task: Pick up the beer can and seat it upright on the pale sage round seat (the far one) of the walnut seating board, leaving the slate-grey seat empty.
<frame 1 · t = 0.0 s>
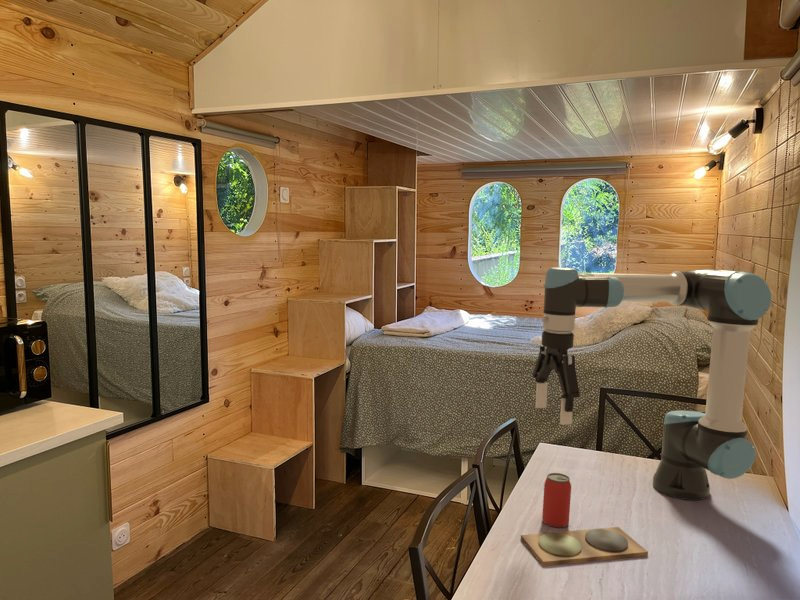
hand: (552, 415, 152), 28 cm above the table, fingers open, 13 cm apart
beer can: (555, 523, 155), on the table
seat board: (582, 547, 143), on the table
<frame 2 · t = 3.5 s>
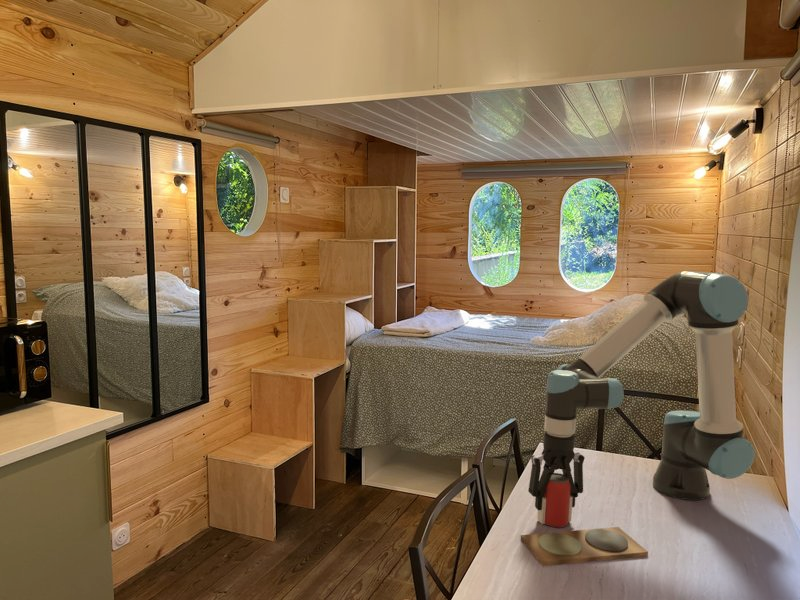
hand: (554, 520, 156), 0 cm above the table, fingers closed on beer can, 7 cm apart
beer can: (554, 523, 155), on the table, touching gripper
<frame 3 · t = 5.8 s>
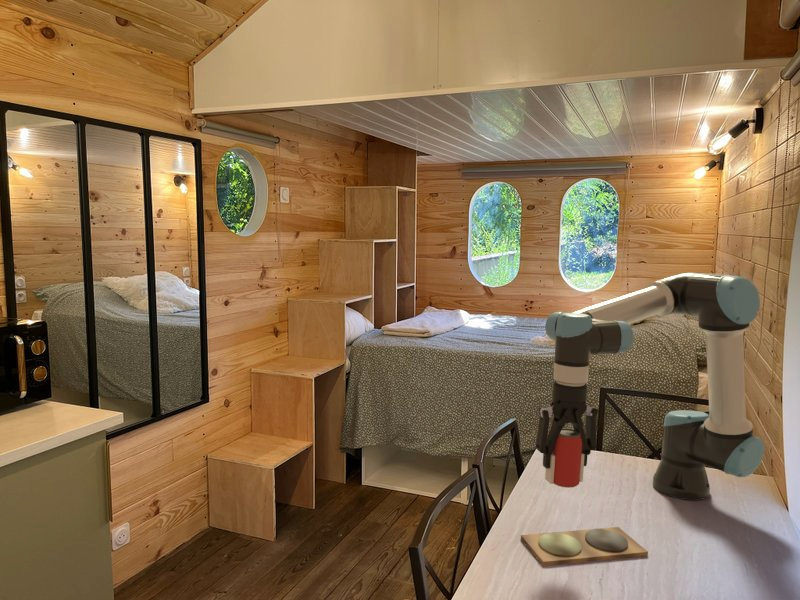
hand: (563, 480, 140), 17 cm above the table, fingers closed on beer can, 6 cm apart
beer can: (564, 483, 140), point 16 cm above the table, touching gripper
when the fingers open (3 cm above the table, at t = 8.6 s): beer can drops 1 cm, resting on seat board.
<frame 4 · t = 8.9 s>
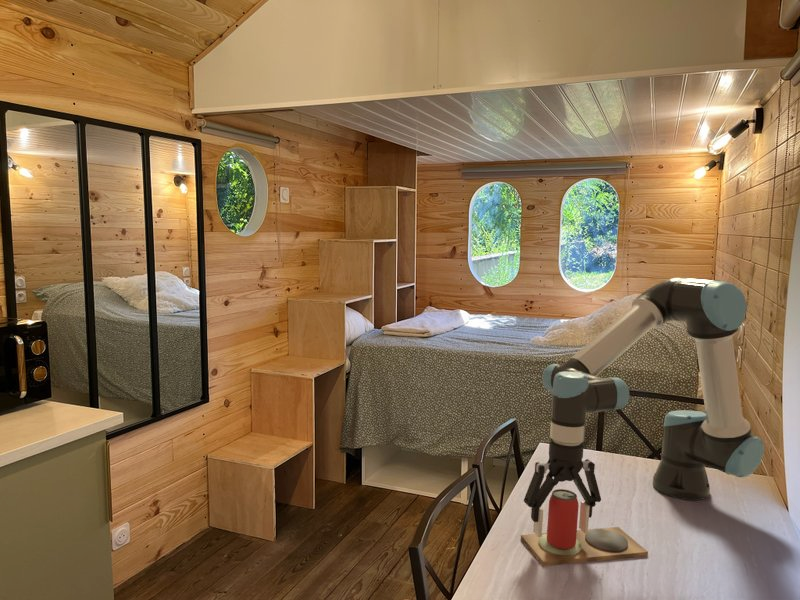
hand: (560, 532, 142), 4 cm above the table, fingers open, 11 cm apart
beer can: (560, 544, 142), point 1 cm above the table, touching seat board
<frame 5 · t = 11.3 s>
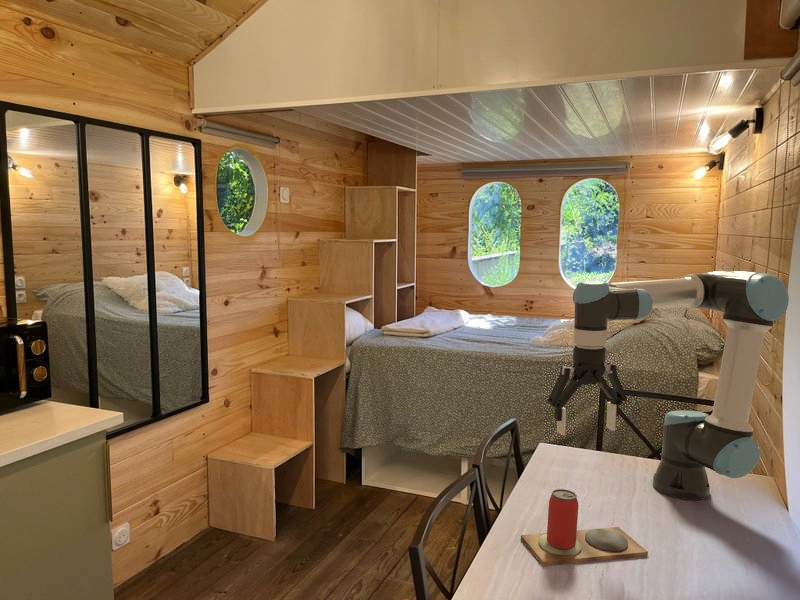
hand: (586, 431, 150), 25 cm above the table, fingers open, 13 cm apart
nothing on the table moved.
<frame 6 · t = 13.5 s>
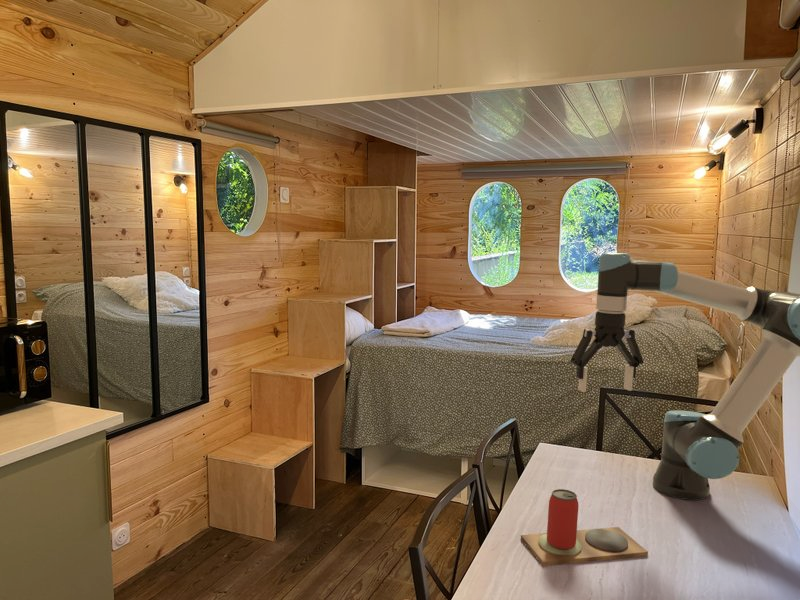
hand: (605, 390, 164), 32 cm above the table, fingers open, 13 cm apart
nothing on the table moved.
at the end: beer can inside the target area (0.3 cm from its centre), point 1.4 cm above the table; beer can tilted 0°; the gripper is holding nothing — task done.
